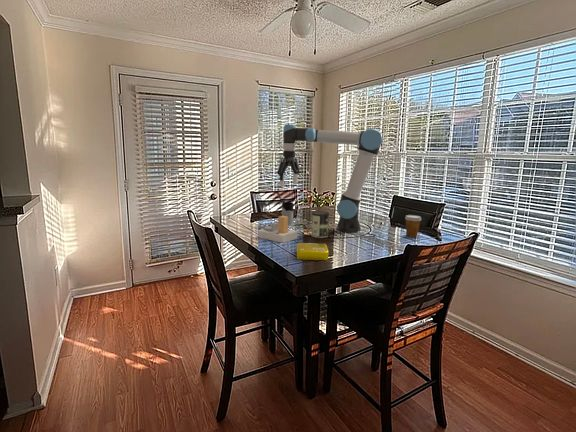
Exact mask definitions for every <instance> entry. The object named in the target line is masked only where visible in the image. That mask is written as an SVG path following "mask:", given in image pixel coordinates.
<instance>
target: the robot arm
mask: <svg viewBox="0 0 576 432" xmlns="http://www.w3.org/2000/svg"><path fill="white" fill-rule="evenodd" d="M282 134H283V143H282V145H283V146H282V147H283V148H282V150H283V151H282V158H280V164H279V165H278V169H277V173H276V174H277V176H279V186H280V187H285V173H286V171H287V168H288V167H291V170H292V172H293V174H292V185H298V175H299V174H300V172H301V171H300V168H299V163H298V159H297V158H295V157H296V144H297V143H296V142H299V141H300V142H308V143H309V142H310V143H311V142H312V143H326V144H328V143H329V144H339V145H353V146H357V151H358V155H357V157H356V161H355V164H354V167H353V169H352V172H351V176H350V178H349V181H348V184H347V187H346V190H345V191H344V192H342V194H341V196H340V199H339V202H338V203H337V206H336V212H337V214H338V215H339V220H338V223H337V224H336V230H337V231H340V232H346V233H357V232H360V231H361V223H360V220H359V208H360V203H361V200H362V199H361V194H362V191H363V187H364V185H365V183H366V179H367V176H368V174H369V171H370V168H371V166H372V162H373V160H374V158H375V157H377V156H378V153H379V151H380V148H381V145H382V143H383V140H384V139H383V138H384V137H383V134H382V132H381V131H380V130H379V129H376V128H368V129H365V130H360V131H358V132H356V131H354V132H353V131H340V130H339V131H337V130H324V129H315V128H313V127H312V128H311V127H304V128H303V127H297V126H296V124H284V126H283V133H282Z"/></svg>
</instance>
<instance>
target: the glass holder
mask: <svg viewBox="0 0 576 432" xmlns="http://www.w3.org/2000/svg"><path fill="white" fill-rule="evenodd" d="M281 205H282V206H281V216H287V217H288V227H292V226H294V221H295V220H296V219H297V218H298V217H299V216H300V215H301V212H302V209H299V210H300V211H299V213H298V214H297V216H296V217H295V218H294V212H295V211H296V209H297V206H298V204H296V205H295V207H294V203H293V202H289V201H288V202H287V201H286V202H281ZM299 206H300V208H302V206H301V205H299Z"/></svg>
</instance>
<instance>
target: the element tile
mask: <svg viewBox="0 0 576 432" xmlns="http://www.w3.org/2000/svg"><path fill="white" fill-rule="evenodd" d="M296 259H297V260H305V261H306V260H308V261H309V260H310V261H327V260H329V248H328V246H327V244H326V243H318V242H317V243H313V242H312V243H311V242H309V243H307V242H297V244H296Z"/></svg>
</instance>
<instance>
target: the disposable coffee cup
mask: <svg viewBox="0 0 576 432" xmlns="http://www.w3.org/2000/svg"><path fill="white" fill-rule="evenodd" d="M404 219H405V233H406V236H407V237H411V238H412V237H413V238H416V237H418V233H419V229H420V226H421V221H422V217H421V216H420V215H414V214H408V215H407V214H406V215H405V217H404Z"/></svg>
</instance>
